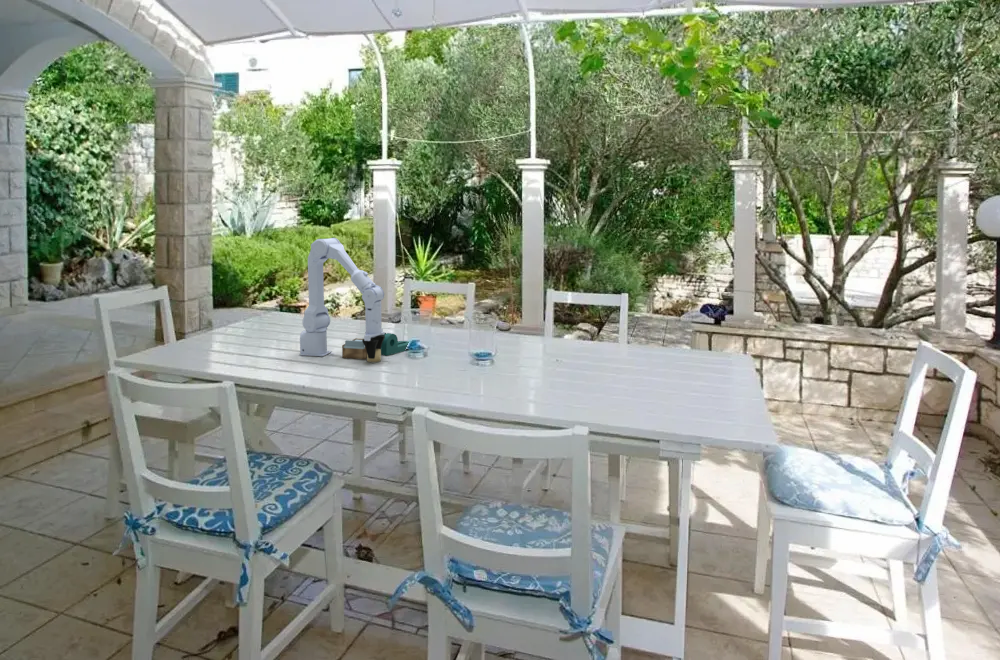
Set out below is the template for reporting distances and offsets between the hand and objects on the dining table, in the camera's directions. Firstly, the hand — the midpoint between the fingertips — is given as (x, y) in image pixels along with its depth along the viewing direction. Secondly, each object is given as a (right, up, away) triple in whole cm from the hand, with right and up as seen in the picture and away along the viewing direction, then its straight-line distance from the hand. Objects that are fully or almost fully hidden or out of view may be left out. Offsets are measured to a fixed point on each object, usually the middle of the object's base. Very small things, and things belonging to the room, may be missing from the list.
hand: (373, 356), depth 271 cm
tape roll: (0, -1, 0) cm, 1 cm away
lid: (-7, +4, +8) cm, 11 cm away
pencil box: (-7, 0, +9) cm, 11 cm away
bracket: (+5, +2, +17) cm, 18 cm away
